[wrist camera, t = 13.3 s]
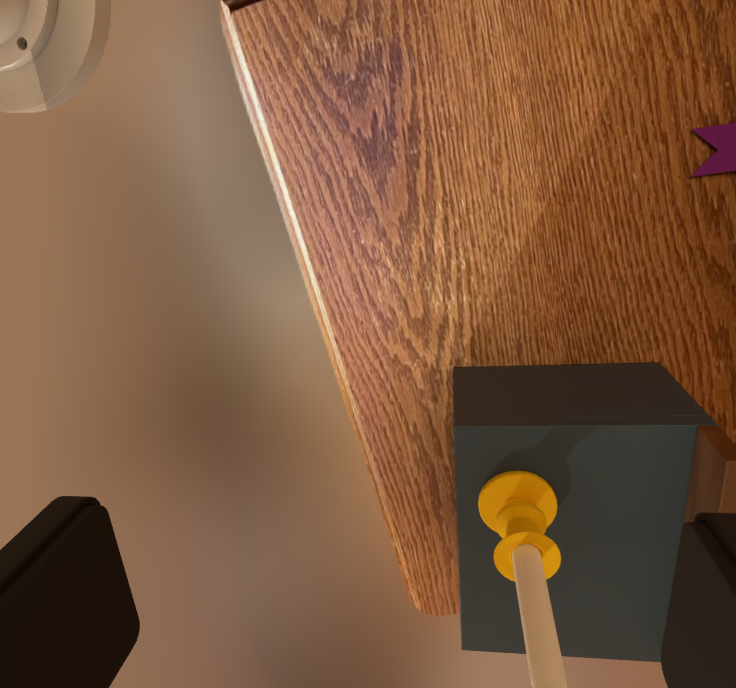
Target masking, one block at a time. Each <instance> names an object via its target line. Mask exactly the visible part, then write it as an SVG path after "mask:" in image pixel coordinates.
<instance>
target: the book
mask: <svg viewBox="0 0 736 688" xmlns="http://www.w3.org/2000/svg"><path fill="white" fill-rule="evenodd" d="M692 130H693V131H694V132H695V133H697V134H698V135H699V136H700V137H702V138H703V139H704V140H706V141H707V142H708V143H709V144H711V145H712V146H713V147H714V148H716V149H717V151H716V152H715V153H714V154H713V155H712V156H711V157H710V158H709V159H708V160H707V161H706V162H705V163H704V164H703V165H702V166H701V167H700V168H699V169H698V170H697V171H696V172H695V173H694V174H693V175H692V176H691V177H693V176H700V175H707V174H715V173H722V172H730V171H736V123H730V124H724V125H717V126H711V127H704V128H698V129H692Z"/></svg>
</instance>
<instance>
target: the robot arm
mask: <svg viewBox="0 0 736 688" xmlns="http://www.w3.org/2000/svg"><path fill="white" fill-rule="evenodd" d="M57 2H58V0H0V72H2V71H10V70H14V69H16V68H19V67H21V66H24V65H26V64H27V63H28V62H30V61H31V60H32V59H34V58H35V57H36V56H37V55H38V53H39V52H40V51H41V50H42V49H43V47H44V46H45V44H46V42H47V40H48V38H49V37H50V35H51V33H52V29H53V26H54V22H55V18H56V12H57ZM139 628H140V622H139V617H138V614H137V610H136V607H135V603H134V600H133V597H132V593H131V590H130V586H129V583H128V579H127V576H126V573H125V569H124V566H123V562H122V559H121V555H120V552H119V548H118V545H117V542H116V538H115V534H114V531H113V527H112V524H111V521H110V517H109V514H108V511H107V510H106V508H105V507H104V506H101V505H100V503H99V501H98V500H97V499H96V498H93V497H78V496H77V497H76V496H62V497H58V498H56V499H55V500H53V501H52V502H51V503H50V504H49V505H48V506H47V507H46V508H44V509H43V510H42V511H41V512H40V513H39V514H38V515H37V516H36V517H35V518H34V519H33V520H32V521H31V522H30V523H29V524H27V525H26V526H25V527H24V528H23V529H22V530H21V531H20V532H19V533H18V534H17V535H16V536H15V537H14V538H13V539H12V540H11V541H10V542H8V543H7V544H6V545H5V546H4V547H3V548H2V549H1V550H0V688H109V686H110V685H111V683H112V682H113V680H114V678H115V677H116V675H117V673H118V672H119V670H120V668H121V667H122V665H123V663H124V662H125V660H126V658H127V657H128V655H129V653H130V652H131V650H132V648H133V647H134V645H135V643H136V641H137V638H138V635H139ZM661 665H662V670H663V674H664V677H665V681H666V683H667V686H668V688H736V513H706V512H701V513H698V514H697V515H696V517H695V519H694V522H686V523H685V524H684V525H683V527H682V531H681V537H680V542H679V548H678V554H677V560H676V566H675V572H674V578H673V584H672V589H671V595H670V601H669V607H668V613H667V619H666V625H665V630H664V636H663V642H662V648H661Z"/></svg>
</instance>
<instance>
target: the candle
mask: <svg viewBox="0 0 736 688" xmlns="http://www.w3.org/2000/svg"><path fill="white" fill-rule="evenodd" d="M478 507H479V512H480V515H481V517H482V519H483V521H484V522H485V523H486V524H487V525H488V526H489V527H490V528H491V529H492V530H494V531H495V532H497V533H498V534H499V535H500V536H501V537H502V538H503V539H502V540H501V541H500V542H499V543H498V544H497V546H496V548H495V550H494V562H495V566H496V567H497V569H498V571H499V572H500V573H501V574H502V575H503V576H504V577H506V578H508V579H509V580H511V581H514V582H516V589H517V595H518V602H519V608H520V615H521V621H522V627H523V634H524V640H525V647H526V653H527V660H528V666H529V672H530V679H531V684H532V688H568V686H567V681H566V676H565V671H564V666H563V662H562V657H561V652H560V647H559V642H558V637H557V632H556V627H555V622H554V617H553V612H552V607H551V602H550V597H549V593H548V588H547V583H546V580H547V579H549V578H550V577H552V576H553V575H554V574H555V573H556V572H557V570H558V568H559V567H560V563H561V555H560V550H559V549H558V547H557V545H556V544H555V543H554V542H553V541H552V540H551V539H550V538H548V537H547V536H545V535H544V533H545V532H546V528H547V527H548V526H549V525H550V524H551V523H552V522H553V520H554V518H555V516H556V514H557V508H558V505H557V498H556V495H555V493H554V491H553V489H552V487H551V486H550V485H549V483H548V482H547V481H546V480H545V479H543V478H541V477H540V476H538V475H536V474H533V473H530V472H527V471H517V470H516V471H508V472H504V473H501V474H498V475H496V476H494V477H493V478H491V479H490V480H488V482H487V483H486V484H485V485H484V486H483V487H482V490H481V492H480V494H479V500H478Z"/></svg>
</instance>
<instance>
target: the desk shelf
mask: <svg viewBox="0 0 736 688" xmlns="http://www.w3.org/2000/svg"><path fill="white" fill-rule="evenodd" d="M453 410H454V451H455V479H456V508H457V536H458V565H459V593H460V621H461V648H462V650H470V651H486V652H503V653H520V654H527V653H526V647H525V640H524V634H523V627H522V621H521V615H520V608H519V602H518V595H517V589H516V582H514V581H511V580H509V579H508V578H506V577H504V576H503V575H502V574H501V573H500V572H499V571H498V569H497V567H496V566H495V562H494V550H495V548H496V546H497V544H498V543H499V542H500V541H501V540H502V539H503V538H502V537H501V536H500V535H499V534H498V533H497V532H495V531H494V530H492V529H491V528H490V527H489V526H488V525H487V524H486V523H485V522H484V521H483V519H482V517H481V515H480V512H479V507H478V500H479V494H480V492H481V490H482V487H483V486H484V485H485V484H486V483H487V482H488V480H490V479H491V478H493V477H494V476H496V475H498V474H501V473H504V472H508V471H516V470H517V471H527V472H530V473H533V474H536V475H538V476H540V477H541V478H543V479H545V480H546V481H547V482H548V483H549V485H550V486H551V487H552V489H553V491H554V493H555V495H556V498H557V505H558V508H557V514H556V516H555V518H554V520H553V522H552V523H551V524H550V525H549V526H548V527H547V528H546V532H545V533H544V535H545V536H547V537H548V538H550V539H551V540H552V541H553V542H554V543H555V544H556V545H557V547H558V549H559V550H560V555H561V563H560V567H559V568H558V570H557V572H556V573H555V574H554V575H553V576H552V577H550V578H549V579H547V580H546V583H547V588H548V593H549V597H550V602H551V607H552V612H553V617H554V622H555V627H556V632H557V637H558V642H559V647H560V652H561V656H568V657H584V658H602V659H617V660H634V661H651V662H661V648H662V642H663V636H664V630H665V625H666V619H667V613H668V607H669V601H670V595H671V589H672V584H673V578H674V572H675V566H676V560H677V554H678V548H679V542H680V537H681V531H682V527H683V525H684V524H685V523H686V522H694V519H695V517H696V515H697V514H698V513H701V512H706V513H736V445H735V444H734V443H733V441H732V440H731V439H730V438H729V437H728V436H727V435H726V434H725V433H724V432H723V431H722V430H721V429H720V427H719V426H717V424H716V423H715V422H714V421H713V420H712V418H711V417H710V416H708V414H707V413H706V412H705V411H704V410H703V409H702V408H701V407H700V406H699V405H698V404H697V402H696V401H695V400H694V399H693V398H692V397H691V396H690V395H689V394H688V393H687V392H686V391H685V390H684V388H683V387H682V386H681V385H680V384H679V383H678V382H677V381H676V380H675V379H674V378H673V377H672V375H671V374H670V373H669V372H668V371H667V370H666V369H665V368H664V367H663V366H662V365H661V364H660V363H618V364H574V365H531V366H487V367H454V368H453Z"/></svg>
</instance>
